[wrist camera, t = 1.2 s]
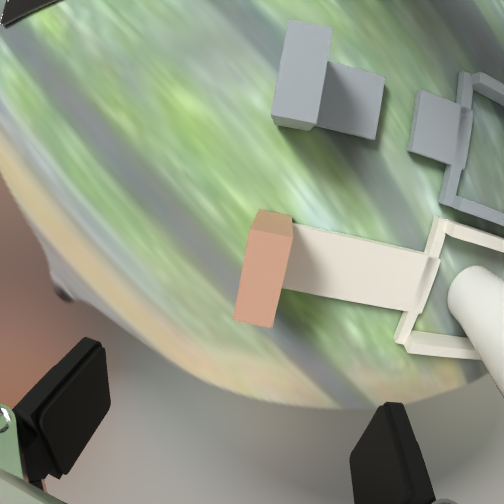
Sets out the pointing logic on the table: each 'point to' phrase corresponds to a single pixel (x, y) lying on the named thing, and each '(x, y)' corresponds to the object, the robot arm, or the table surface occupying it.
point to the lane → (350, 274)
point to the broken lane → (377, 107)
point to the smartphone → (21, 9)
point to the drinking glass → (481, 316)
